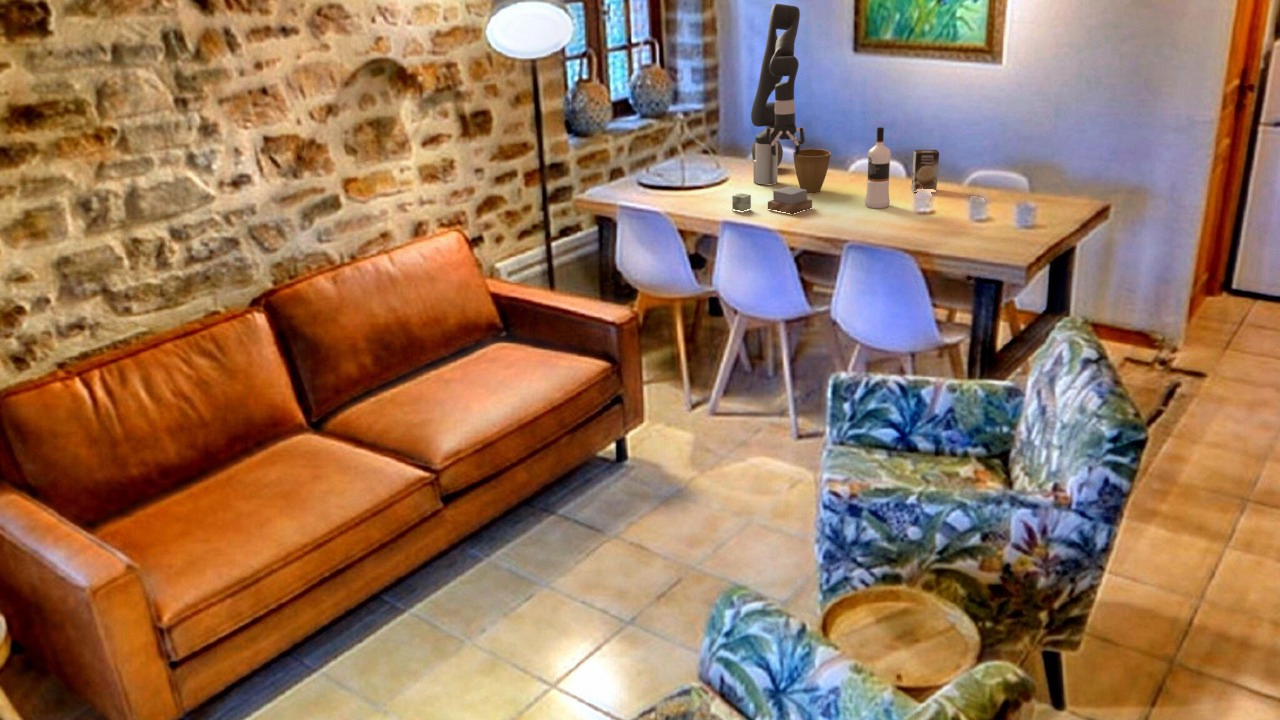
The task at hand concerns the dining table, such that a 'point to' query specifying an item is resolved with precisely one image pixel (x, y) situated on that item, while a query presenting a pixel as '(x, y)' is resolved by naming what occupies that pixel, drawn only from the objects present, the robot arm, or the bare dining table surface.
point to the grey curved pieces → (780, 152)
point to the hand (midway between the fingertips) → (785, 155)
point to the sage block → (741, 202)
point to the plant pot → (811, 168)
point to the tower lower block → (790, 206)
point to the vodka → (878, 174)
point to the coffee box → (925, 169)
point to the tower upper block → (790, 195)
